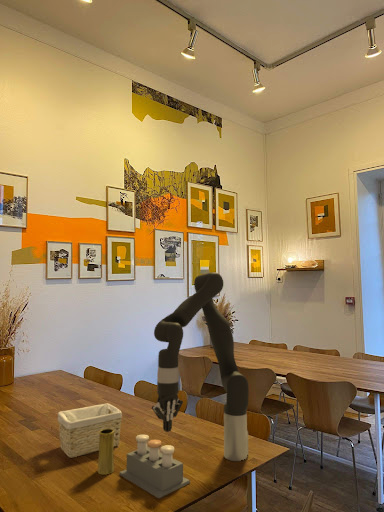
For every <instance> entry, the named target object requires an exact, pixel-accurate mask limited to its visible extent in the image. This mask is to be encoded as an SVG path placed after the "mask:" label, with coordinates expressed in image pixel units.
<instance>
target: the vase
mask: <svg viewBox="0 0 384 512" xmlns="http://www.w3.org/2000/svg"><path fill="white" fill-rule="evenodd" d="M114 447H115V446H114V430H113V429H103V430H101V431H100V436H99V451H98V461H97V474H99V475H100V476H101V475H102V476H107V474H108V475H111V474H113V472H115V465H114V455H115V454H114ZM110 473H111V474H110Z"/></svg>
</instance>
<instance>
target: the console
mask: <svg viewBox="0 0 384 512" xmlns="http://www.w3.org/2000/svg"><path fill="white" fill-rule="evenodd" d="M119 476H121V477H122V476H123V478H124V479H126V480H127V481H129V482H130V481H131V483H132V482H133V483H132V484H134V485H135V484H136V485H135V486H137V487H139V488H140V489H142V490H144V491H145V492H147V493H149V494H150V495H152V496H154V497H155V498H156V499H161V498H163V497H165V496H167V495H169V494H171V493H173V492H175V491H177V490H179V489H181V488H183V487H185V486H187V485H188V484H190V483H191V481H190V479H188V478H186V477H184V463H183V461H182V462H181V461H180V460H177V459H175V458H172V467H171V468H168V469H165V468H163V467H162V453H161V452H160V451H159V460H158V461H156V462H151V461H149V447H148V445H147V454H145V455H143V456H140V455H138V454H137V449H136V450H133V451H130V452H127V454H126V469H124V470H122V471H119Z"/></svg>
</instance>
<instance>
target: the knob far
mask: <svg viewBox="0 0 384 512" xmlns="http://www.w3.org/2000/svg"><path fill="white" fill-rule="evenodd" d="M135 441H136V443H137V446H136V448H137V449H136V450H137V454H138V455H140V456H143V455H145V454H147V446H148V441H150V437H149V435H147V434H138V435H136V436H135Z"/></svg>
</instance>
